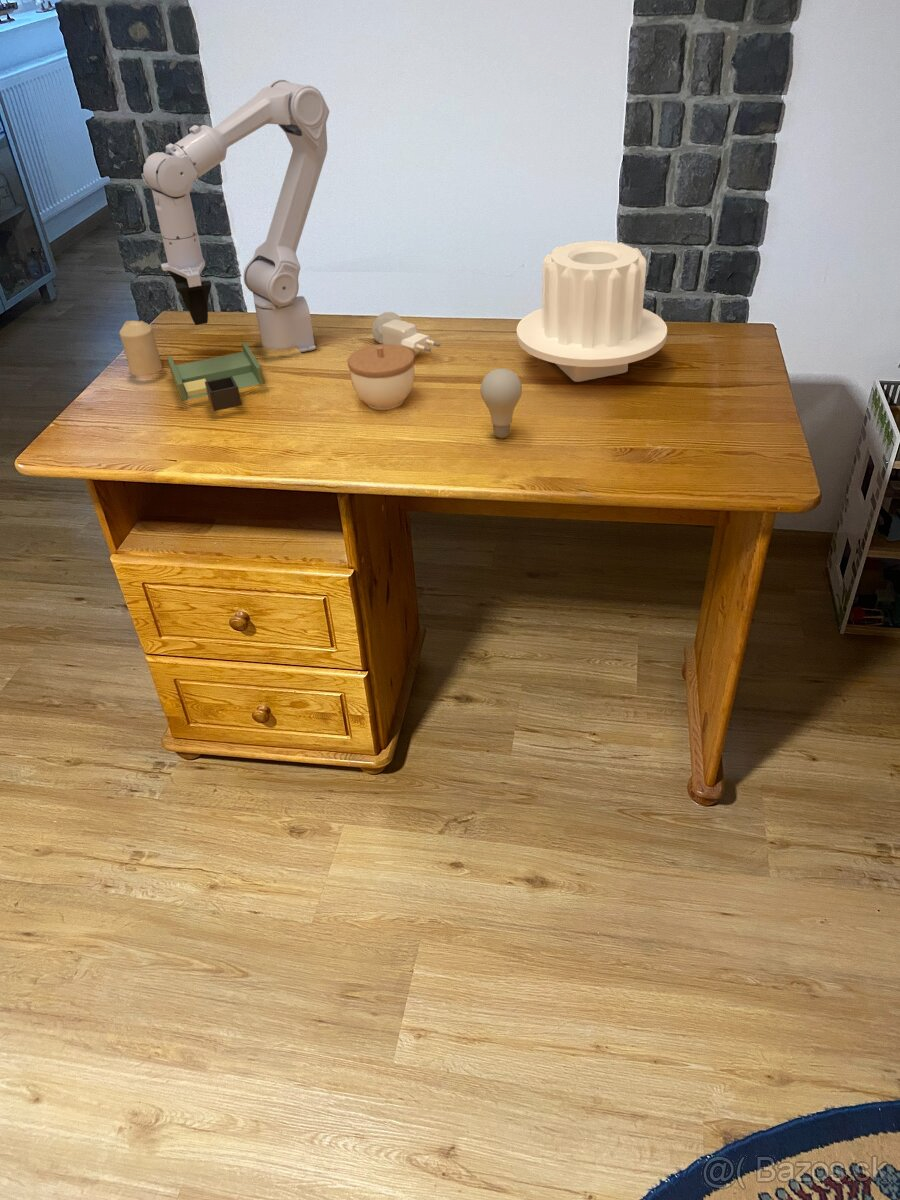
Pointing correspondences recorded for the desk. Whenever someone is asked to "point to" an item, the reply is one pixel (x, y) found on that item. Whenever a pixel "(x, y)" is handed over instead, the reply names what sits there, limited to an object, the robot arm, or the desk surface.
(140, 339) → the candle
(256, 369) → the shelf
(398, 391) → the trinket box
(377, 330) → the grey rounded piece
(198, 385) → the note pad
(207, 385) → the holder
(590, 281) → the flanged gear
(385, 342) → the power adapter
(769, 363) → the desk surface
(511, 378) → the lightbulb
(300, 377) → the desk surface
